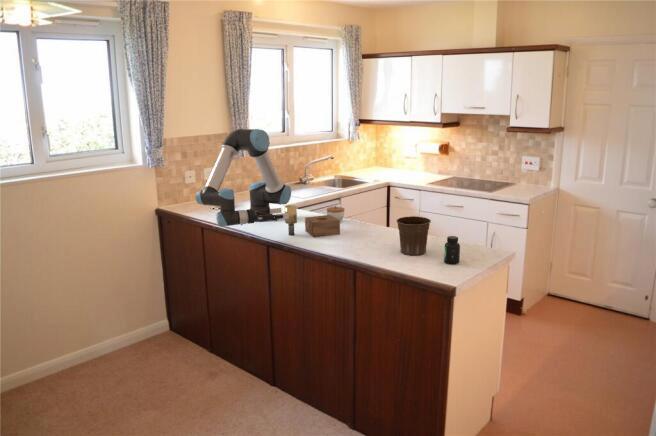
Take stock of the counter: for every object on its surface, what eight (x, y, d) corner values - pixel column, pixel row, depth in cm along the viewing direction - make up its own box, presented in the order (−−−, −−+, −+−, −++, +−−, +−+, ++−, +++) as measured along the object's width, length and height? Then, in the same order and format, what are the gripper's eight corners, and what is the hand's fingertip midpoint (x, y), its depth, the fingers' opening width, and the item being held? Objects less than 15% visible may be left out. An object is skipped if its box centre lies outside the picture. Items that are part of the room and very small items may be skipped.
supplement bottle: (442, 264, 244) (443, 238, 241) (445, 259, 250) (446, 234, 248) (458, 265, 242) (459, 239, 239) (460, 260, 248) (461, 235, 245)
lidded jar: (333, 218, 333) (333, 203, 331) (348, 220, 327) (347, 205, 325) (323, 221, 324) (323, 206, 322) (338, 224, 318) (337, 208, 316)
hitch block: (305, 231, 304) (304, 217, 302) (329, 228, 310) (329, 214, 308) (314, 237, 291) (314, 223, 289) (340, 234, 296) (339, 220, 294)
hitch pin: (284, 234, 299) (283, 205, 295) (295, 232, 301) (294, 204, 297) (287, 236, 293) (286, 208, 289) (298, 235, 295) (298, 207, 292)
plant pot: (407, 259, 252) (408, 225, 248) (390, 250, 266) (390, 218, 263) (436, 254, 258) (437, 222, 254) (418, 245, 273) (418, 215, 269)
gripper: (241, 218, 297) (278, 214, 305) (252, 229, 275) (292, 224, 282) (240, 205, 295) (278, 201, 303) (251, 214, 273) (291, 210, 280)
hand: (284, 212), depth 292 cm, fingers open, 13 cm apart
